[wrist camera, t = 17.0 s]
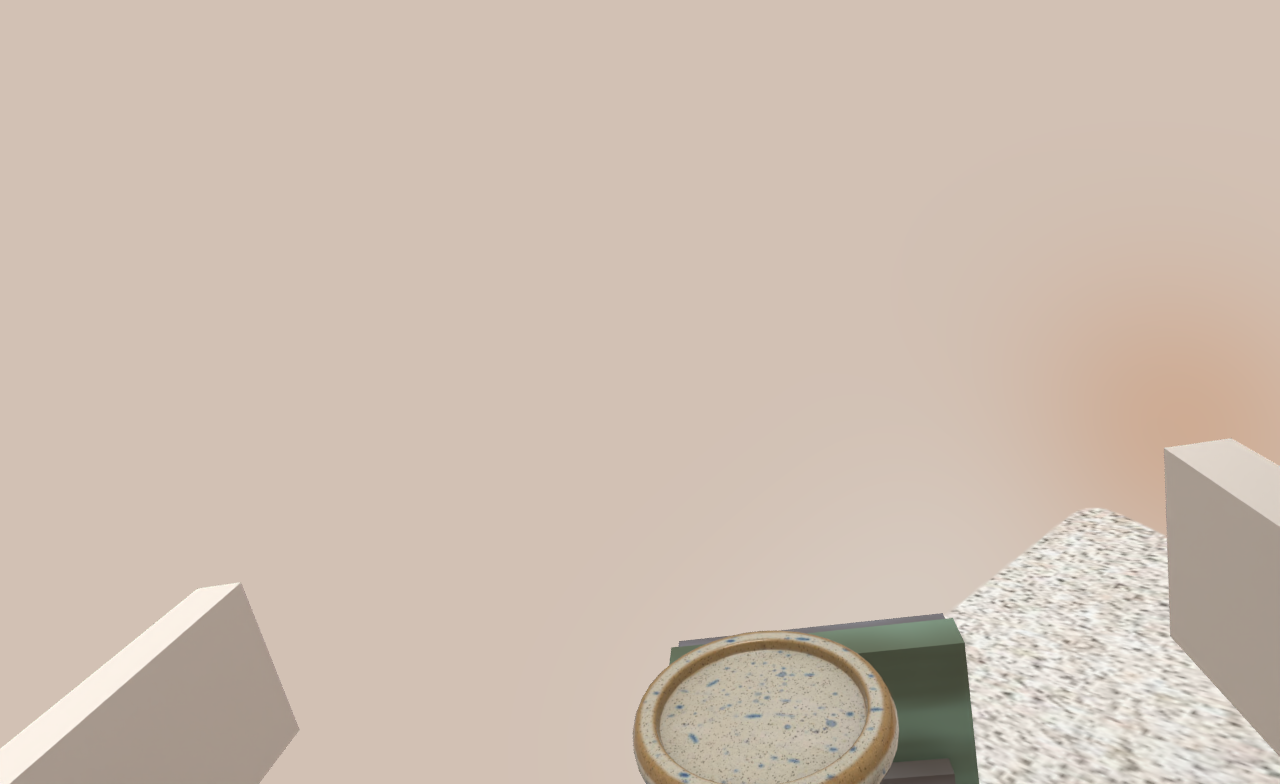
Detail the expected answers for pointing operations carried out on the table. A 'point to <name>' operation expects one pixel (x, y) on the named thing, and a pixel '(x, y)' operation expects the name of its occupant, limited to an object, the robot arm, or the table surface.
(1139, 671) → the table surface
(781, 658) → the candle holder
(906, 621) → the wooden bookend
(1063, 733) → the table surface
